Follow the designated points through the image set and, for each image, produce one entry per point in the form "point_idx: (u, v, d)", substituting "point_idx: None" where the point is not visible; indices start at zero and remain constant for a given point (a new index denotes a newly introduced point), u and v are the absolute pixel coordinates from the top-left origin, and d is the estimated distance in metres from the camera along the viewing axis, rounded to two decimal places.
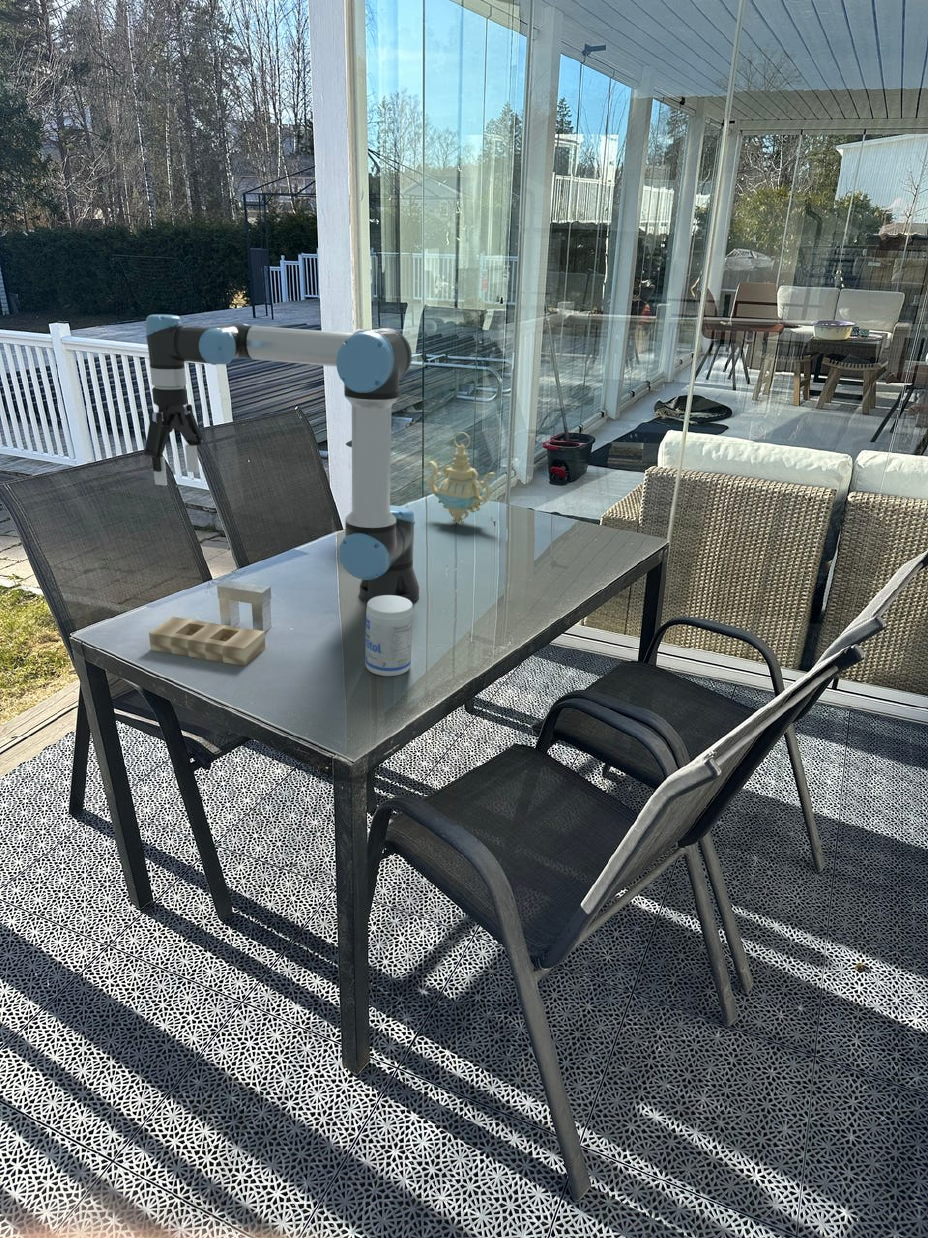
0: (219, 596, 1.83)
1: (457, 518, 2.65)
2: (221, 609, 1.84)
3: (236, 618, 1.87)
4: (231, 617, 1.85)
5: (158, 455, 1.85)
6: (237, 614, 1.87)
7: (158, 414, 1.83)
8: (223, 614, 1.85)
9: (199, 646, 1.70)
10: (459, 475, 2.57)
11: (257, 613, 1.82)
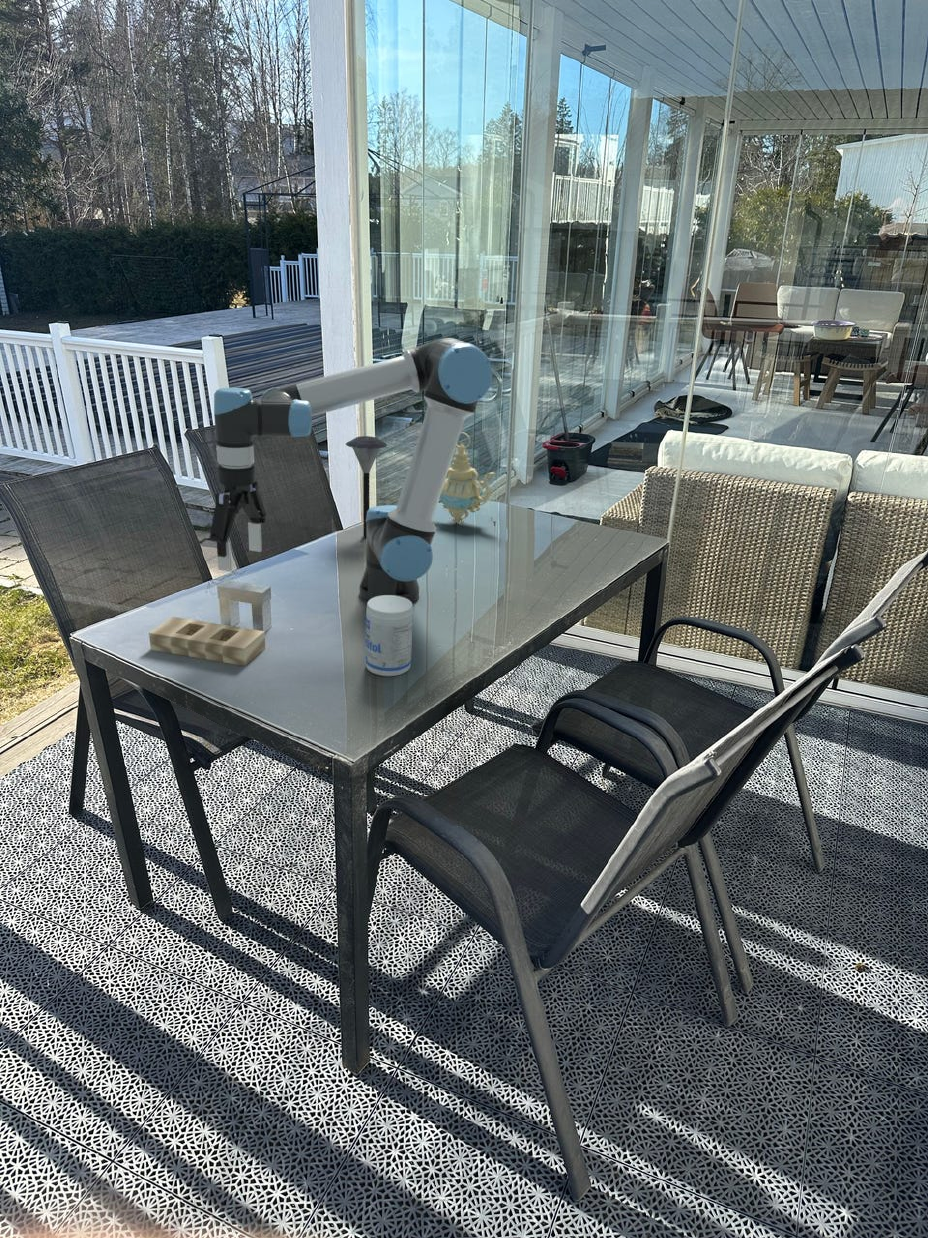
0: (219, 596, 1.83)
1: (457, 518, 2.65)
2: (221, 609, 1.84)
3: (236, 618, 1.87)
4: (231, 617, 1.85)
5: (224, 540, 1.70)
6: (237, 614, 1.87)
7: (225, 496, 1.68)
8: (223, 614, 1.85)
9: (199, 646, 1.70)
10: (459, 475, 2.57)
11: (257, 613, 1.82)
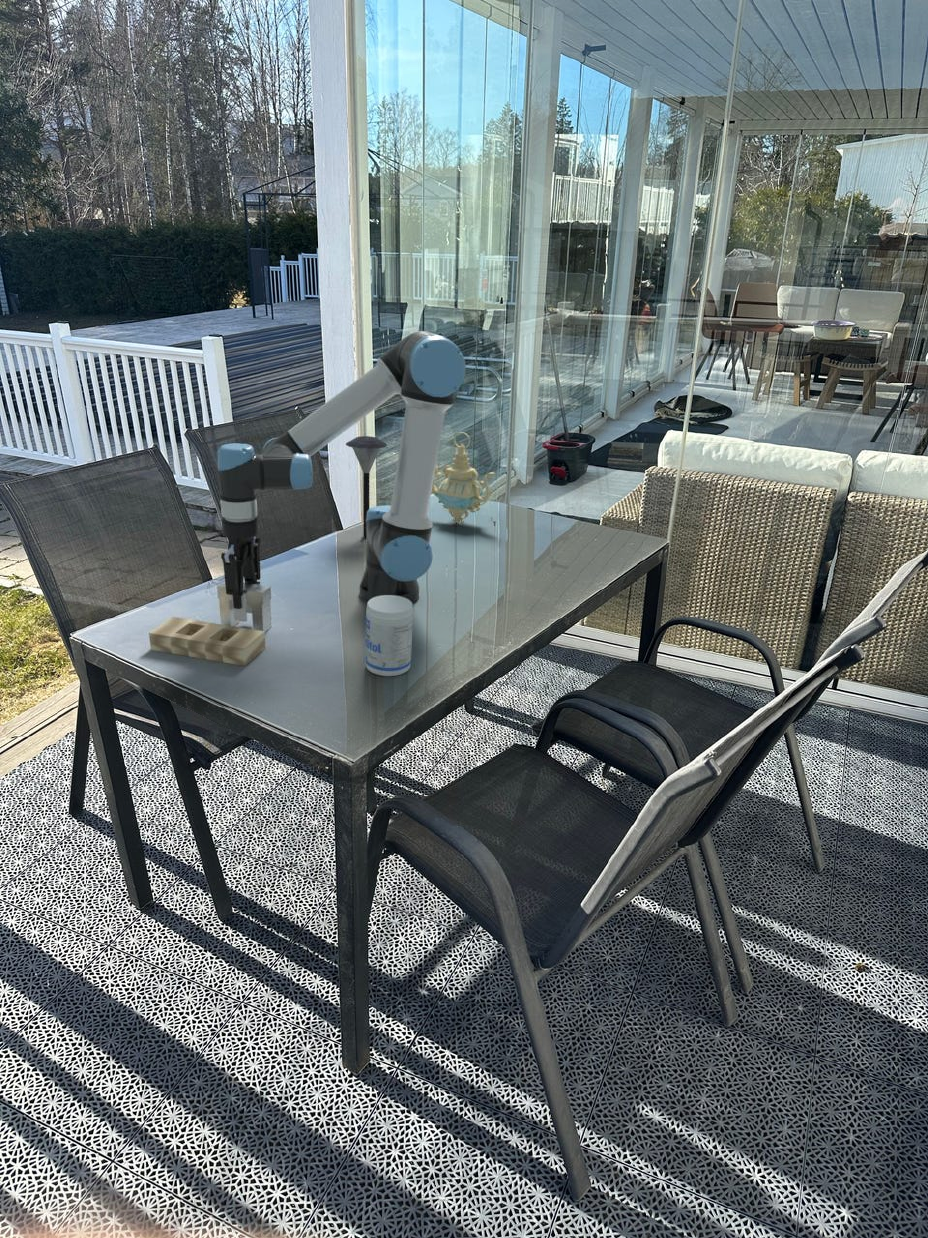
0: (219, 596, 1.83)
1: (457, 518, 2.65)
2: (221, 609, 1.84)
3: None
4: (231, 617, 1.85)
5: (240, 594, 1.79)
6: None
7: (230, 557, 1.73)
8: (223, 614, 1.85)
9: (199, 646, 1.70)
10: (459, 475, 2.57)
11: (256, 613, 1.82)
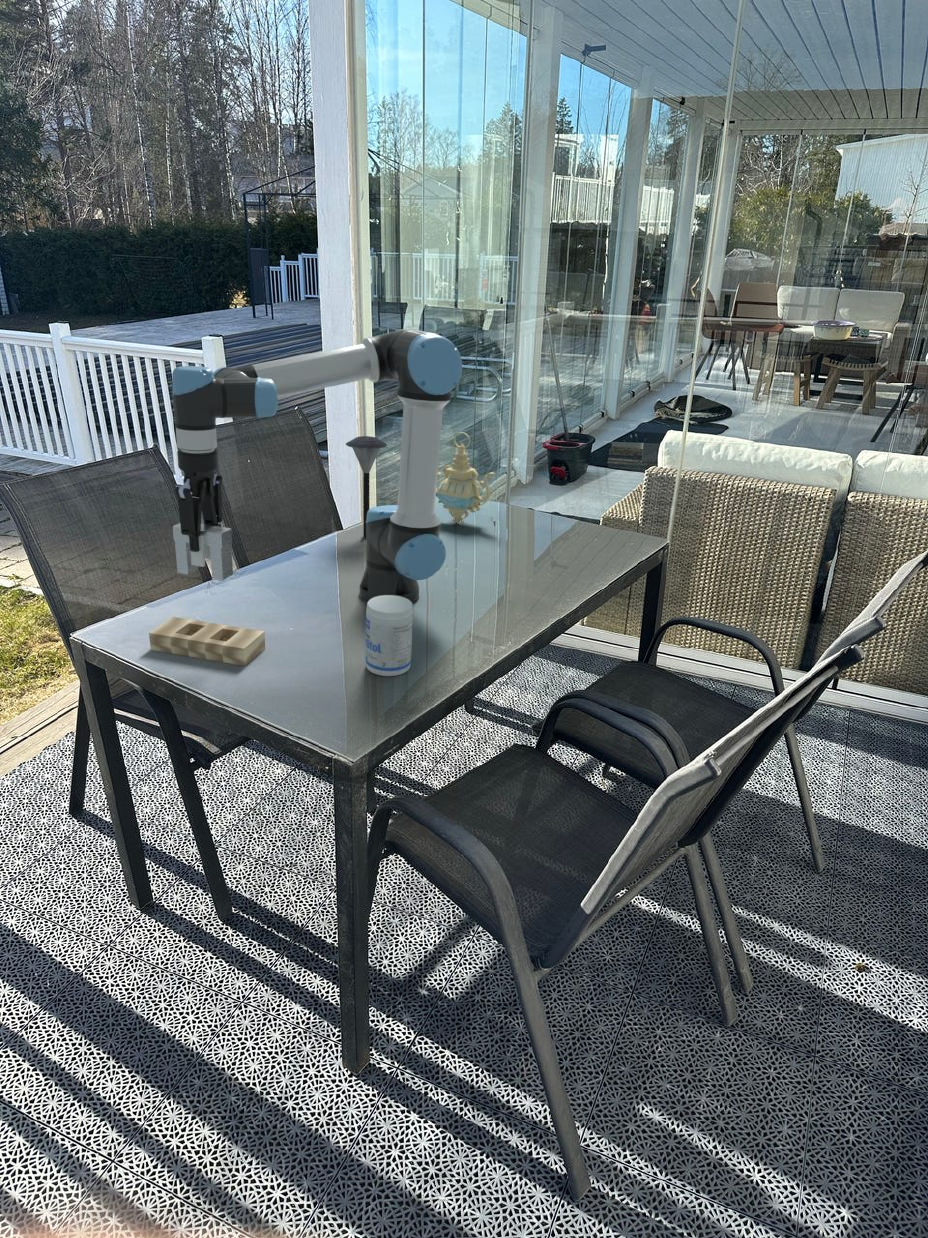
0: (175, 538, 1.67)
1: (457, 518, 2.65)
2: (177, 553, 1.68)
3: None
4: (188, 562, 1.68)
5: (197, 535, 1.63)
6: None
7: (185, 492, 1.57)
8: (179, 558, 1.68)
9: (199, 646, 1.70)
10: (459, 475, 2.57)
11: (215, 557, 1.66)
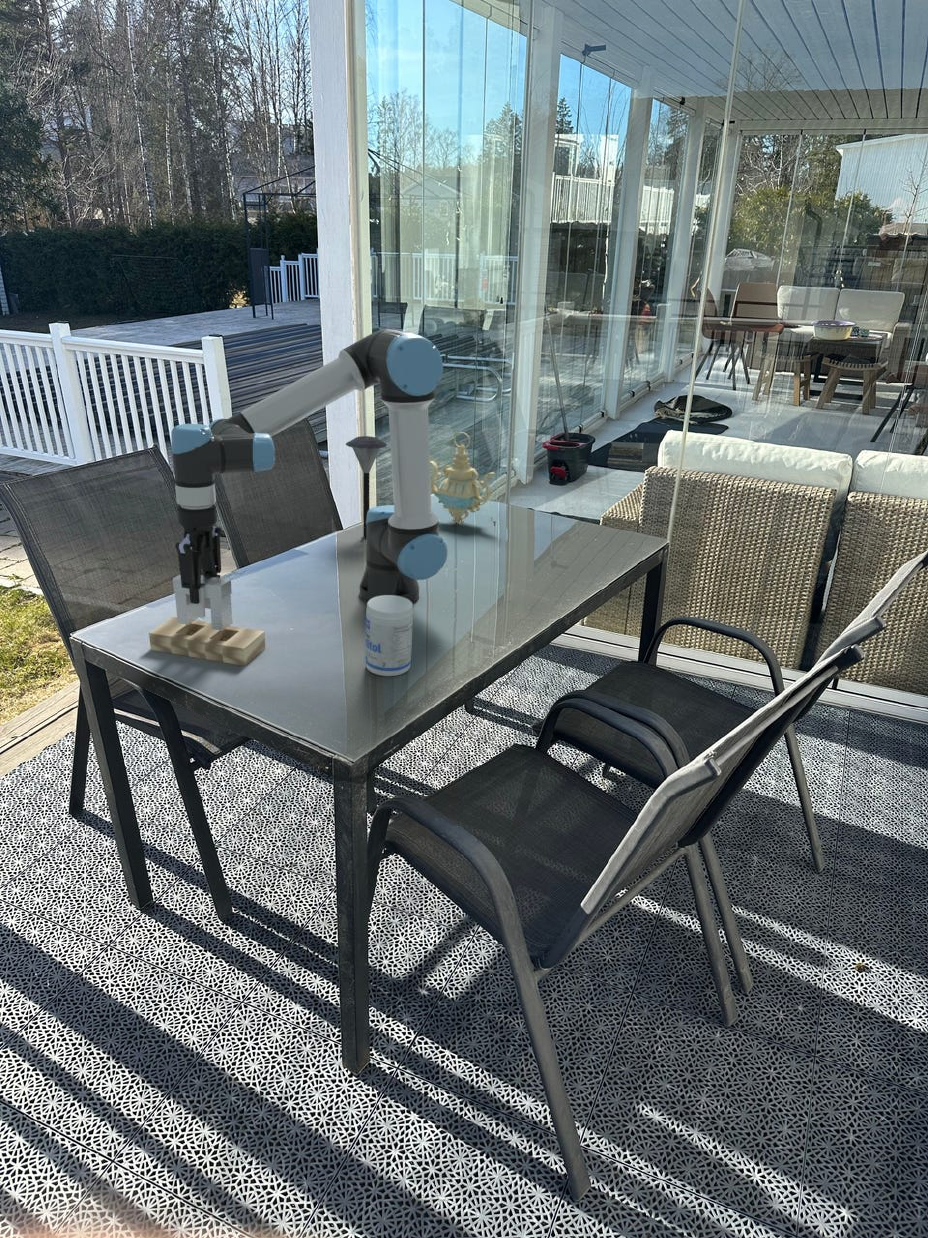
0: (175, 590, 1.69)
1: (457, 518, 2.65)
2: (177, 604, 1.71)
3: None
4: (188, 613, 1.71)
5: (197, 588, 1.66)
6: None
7: (185, 547, 1.59)
8: (179, 609, 1.71)
9: (199, 646, 1.70)
10: (459, 475, 2.57)
11: (215, 608, 1.69)
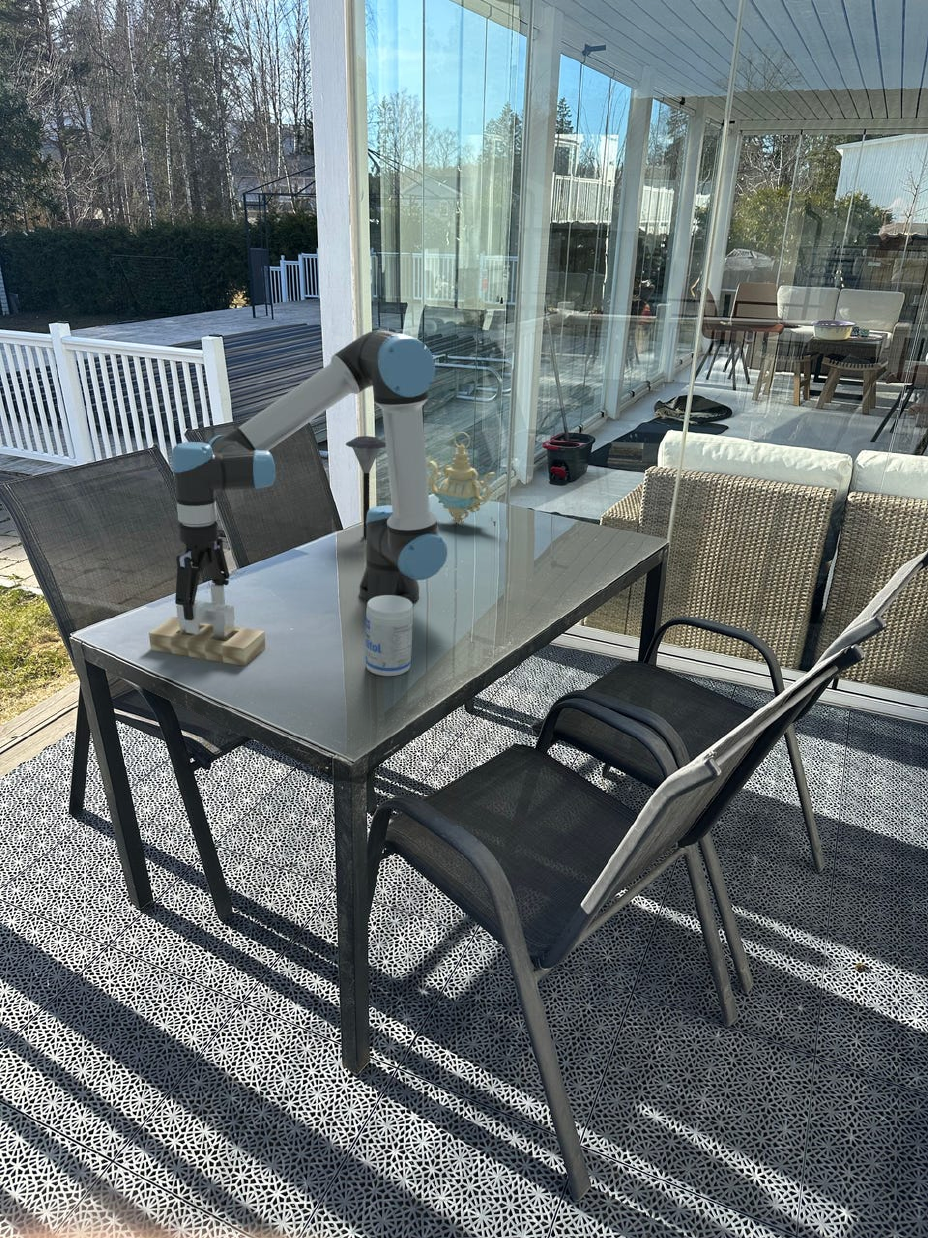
0: (179, 617, 1.72)
1: (457, 518, 2.65)
2: (181, 630, 1.73)
3: None
4: None
5: (190, 604, 1.64)
6: None
7: (186, 560, 1.60)
8: None
9: (199, 646, 1.70)
10: (459, 475, 2.57)
11: (218, 634, 1.71)
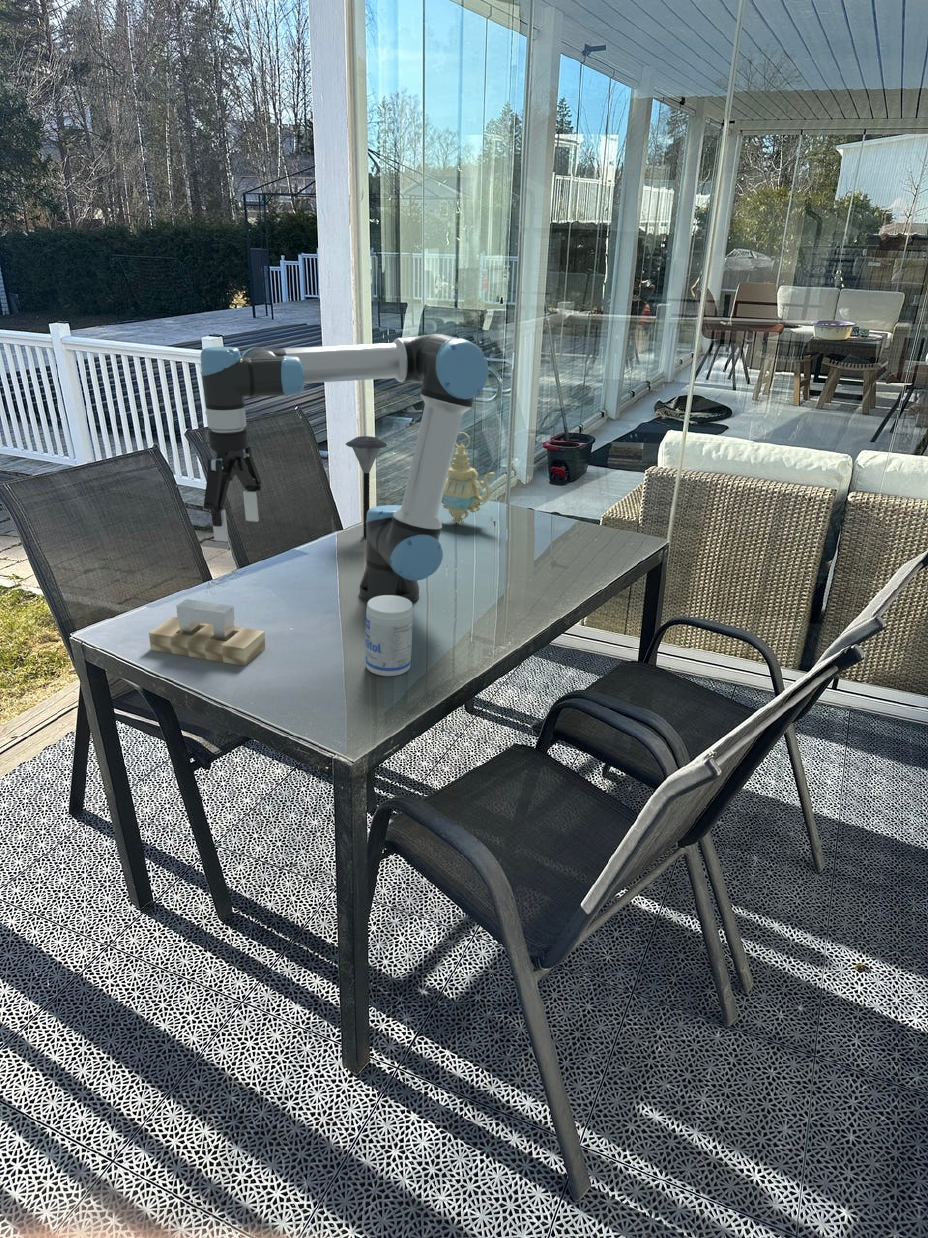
0: (179, 617, 1.72)
1: (457, 518, 2.65)
2: (181, 630, 1.73)
3: None
4: None
5: (218, 508, 1.62)
6: None
7: (218, 462, 1.59)
8: None
9: (199, 646, 1.70)
10: (459, 475, 2.57)
11: (218, 634, 1.71)
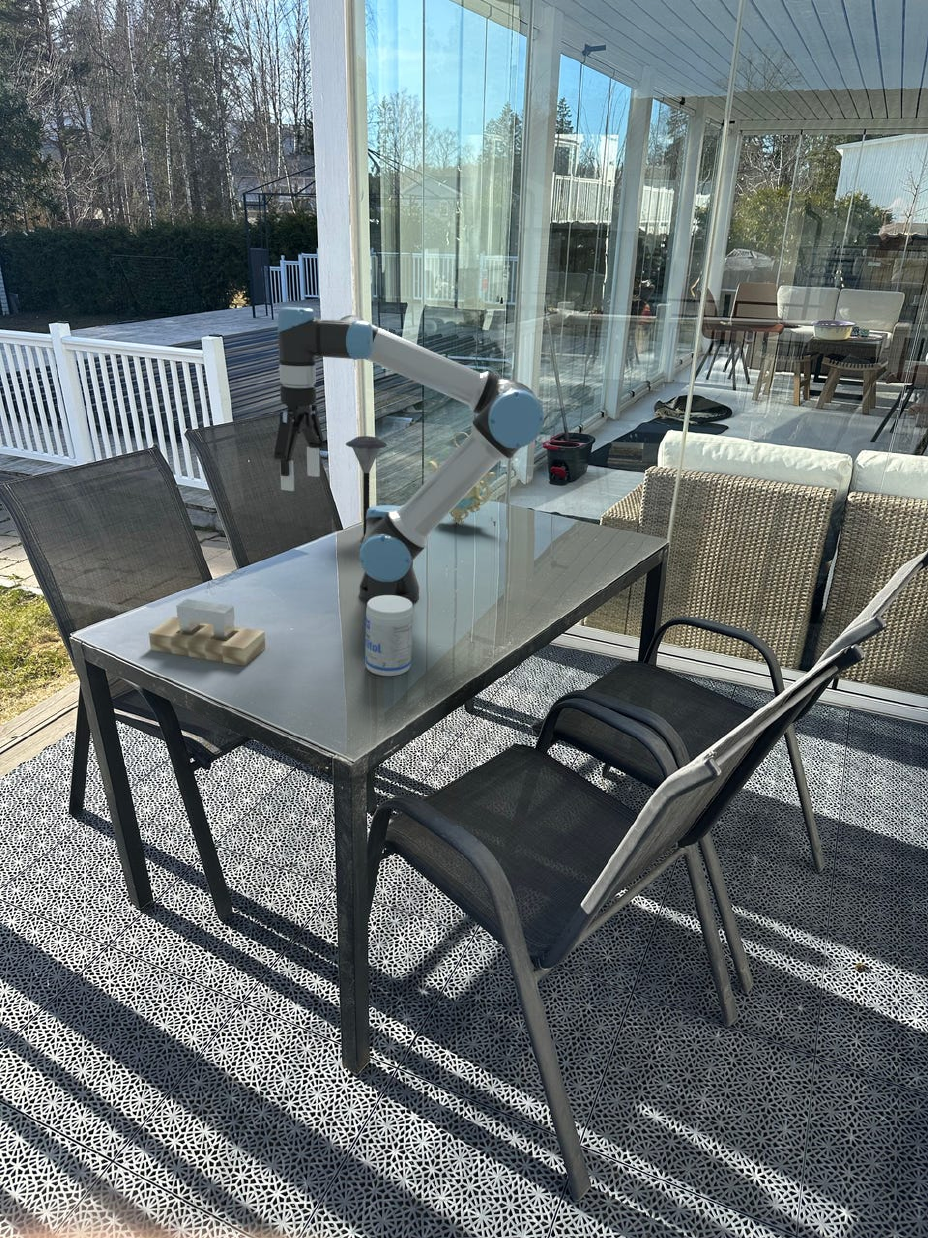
0: (179, 617, 1.72)
1: (457, 518, 2.65)
2: (181, 630, 1.73)
3: None
4: None
5: (287, 458, 1.72)
6: None
7: (289, 414, 1.70)
8: None
9: (199, 646, 1.70)
10: None
11: (218, 634, 1.71)
